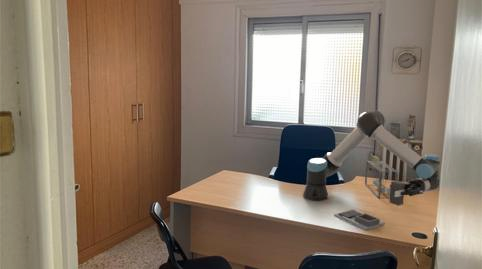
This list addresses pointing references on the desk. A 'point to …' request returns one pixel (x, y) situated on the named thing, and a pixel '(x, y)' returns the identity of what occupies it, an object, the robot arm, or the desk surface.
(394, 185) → the brick
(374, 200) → the desk surface
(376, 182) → the newton's cradle
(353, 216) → the charging dock
